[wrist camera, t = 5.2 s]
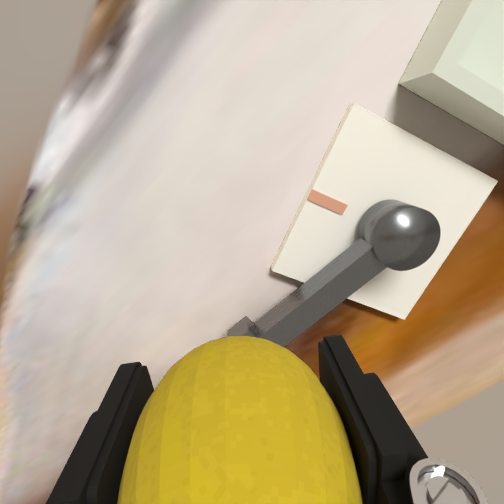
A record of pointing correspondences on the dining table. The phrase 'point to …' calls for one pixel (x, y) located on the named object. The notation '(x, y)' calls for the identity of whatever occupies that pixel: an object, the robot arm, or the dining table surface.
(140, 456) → the lemon
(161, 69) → the dining table surface
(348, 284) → the crank
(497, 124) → the tray
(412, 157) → the crank board
